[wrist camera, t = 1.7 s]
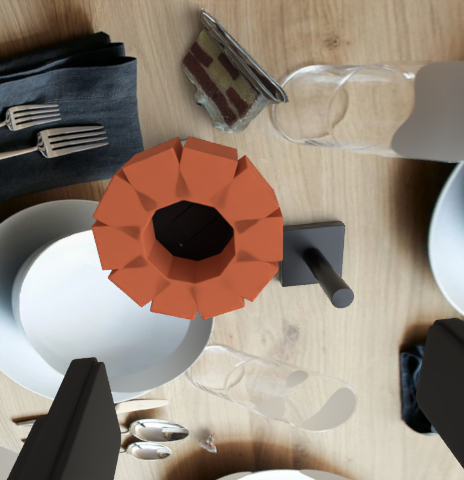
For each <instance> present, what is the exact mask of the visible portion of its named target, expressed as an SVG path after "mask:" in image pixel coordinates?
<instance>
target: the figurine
mask: <svg viewBox="0 0 464 480" xmlns="http://www.w3.org/2000/svg"><path fill="white" fill-rule="evenodd" d="M213 438H214V437H213V435H209V439H207V441H206V440H204V441H202V440H201V441H199V445H200V446H201V445H202V446H201V447H204V448H207V449H206V450H208V451H210V452H212V451H215V452H217V451H216V450H215V449H216V447H214V445H213V443H212V441H214V440H213ZM210 441H211V442H210ZM201 442H202V443H201ZM210 452H209V453H210Z"/></svg>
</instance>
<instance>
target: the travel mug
mask: <svg viewBox="0 0 464 480" xmlns="http://www.w3.org/2000/svg"><path fill="white" fill-rule="evenodd" d="M186 141H187V139H186V140H183V141H181V144H182V146H184V145H185V143H186ZM152 221H153V227H154V233H155V239H156V240H157V241H158V242H159V243H160V244H161V245H162V246H164V247H165V248H166V249H167V250H168V251H169V252H170V253H171V254H172V255H173V256H176V257H180V258H185V259H189V260H194V261H200V260H203V259H206V258H209V257H212V256H215V255H218V254H221V252H222V251H223V250H224V248H225V247H226V245H227V244H228V243H229V241H230V240H231V238H232V237H233V236H234V230H233V227H232V226H231V225H230V224H229V223H228V222H227V221H226V220H225V219H224V217H223V216H222V215H221V214H220V213H219V212H218V211H217V210H216V209H215V207H211V206H207V205H203V204H199V203H195V202H191V201H187V200H182V201H179V202H176V203H174V204H171V205H168V206H166V207H163V208H160V209H158V210H156V211H155V213H154V215H153V216H152Z"/></svg>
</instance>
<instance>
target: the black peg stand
mask: <svg viewBox="0 0 464 480" xmlns="http://www.w3.org/2000/svg"><path fill="white" fill-rule="evenodd" d="M344 233H345V225H344V224H343V223H342V222H341V221H337V222H326V223H315V224H304V225H293V226H283V260H282V261H280V283H281V285H282V287H287V286H296V285H306V284H316V283H319V284H320V286H321V287H322V289H323V290H324V292H325V294H326V295H327V297H328V298H329V300H330V301H331V303H332V304H333V305H334V306H335V307H337V308H345V307H347V306H349V305H350V304H351V303H352V301H353V299H354V294H353V292H352V290H351V289H350V288H349V286H348V285H347V284H346V283H345V281H344V280H343V279H342V278H341V277H342V263H343V248H344Z"/></svg>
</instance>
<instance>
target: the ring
mask: <svg viewBox="0 0 464 480" xmlns="http://www.w3.org/2000/svg"><path fill="white" fill-rule="evenodd" d="M182 200H187V201H191V202H195V203H199V204H203V205H207V206H211V207H215V209H216V210H217V211H218V212H219V213H220V214H221V215H222V216H223V217H224V219H225V220H226V221H227V222H228V223H229V224H230V225H231V226H232V227H233V230H234V236H233V237H232V238H231V240H230V241H229V243H228V244H227V245H226V247H225V248H224V250H223V251H222V252H221V254H218V255H215V256H212V257H209V258H206V259H203V260H200V261H194V260H189V259H185V258H180V257H176V256H173V255H172V254H171V253H170V252H169V251H168V250H167V249H166V248H165V247H164V246H162V245H161V244H160V243H159V242H158V241H157V240H156V239H155V233H154V227H153V221H152V216H153V215H154V213H155V211H156V210H158V209H160V208H163V207H166V206H168V205H171V204H174V203H176V202H179V201H182ZM93 218H95V219H97V221H96V222H95V223H94V224H93V226H92V231H93V235H94V239H95V243H96V246H97V250H98V254H99V258H100V262H101V266H102V269H103V270H112V271H111V273H110V275H109V276H108V279H109V280H110V281H112V282H113V283H114V284H115V285H116V286H117V287H119V288H120V289H121V290H122V291H123V292H124V293H126V294H127V295H128V296H129V297H130V298H131V299H132V300H134V301H135V302H136V303H137V304H138V305H139V306H141V307H143V306H144V305H146V304H147V303H148V302H150V301H151V300H152V303H151V308H150V311H151V312H155V313H160V314H165V315H170V316H175V317H180V318H185V319H190V320H194V319H195V316H196V312H197V309H198V311H199V313H200V315H201V317H202V318H203V320H204V319H208V318H210V317H214V316H217V315H220V314H224V313H227V312H230V311H233V310H236V309H240V308H243V307H244V306H245V303H244V298H246V299H247V300H249V301H251V302H253V300H254V299H255V298H256V297H257V296H258V294H259V293H260V292H261V291H262V290H263V288H264V287H265V286H266V285H267V283H268V282H269V281H270V280H271V279H272V277H273V276H274V275H275V274H276V273H277V271H278V270H279V267H278V263H277V261H282V260H283V216H282V213H281V210H280V207H279V204H278V201H277V198H276V195H275V193H274V190H273V189H272V187H271V186H270V185H269V184H268V182H267V181H266V180H265V179H264V177H263V176H262V175H261V174H260V172H259V171H258V170H257V169H256V167H255V166H254V165H253V164H252V162H251V161H250V160H249V159H248V157H247V156H246V155H244V156H243V157H242V158H241V159H239V160H238V156H237V149H234V148H231V147H227V146H223V145H219V144H216V143H212V142H208V141H204V140H201V139H197V138H193V137H188V139H187V141H186V143H185V145H184V146H182V144H181V141H180V139H179V138H178V137H177V138H175V139H172V140H170V141H167V142H165V143H162V144H160V145H157V146H155V147H153V148H150V149H148V150H145V151H143V152H140V153H138V154H135V155H134V156H133V157H132V158H131V159H130V160H129V161H128V162H126V163H125V164H124V165H123V166H122V167H121V168H120V169H119V170H118V171H117V172H116V173H115V174H114V175H113V177H112V179H111V181H110V183H109V185H108V187H107V189H106V191H105V193H104V195H103V197H102V199H101V201H100V203H99V205H98V207H97V209H96V211H95V213H94V214H93Z"/></svg>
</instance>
